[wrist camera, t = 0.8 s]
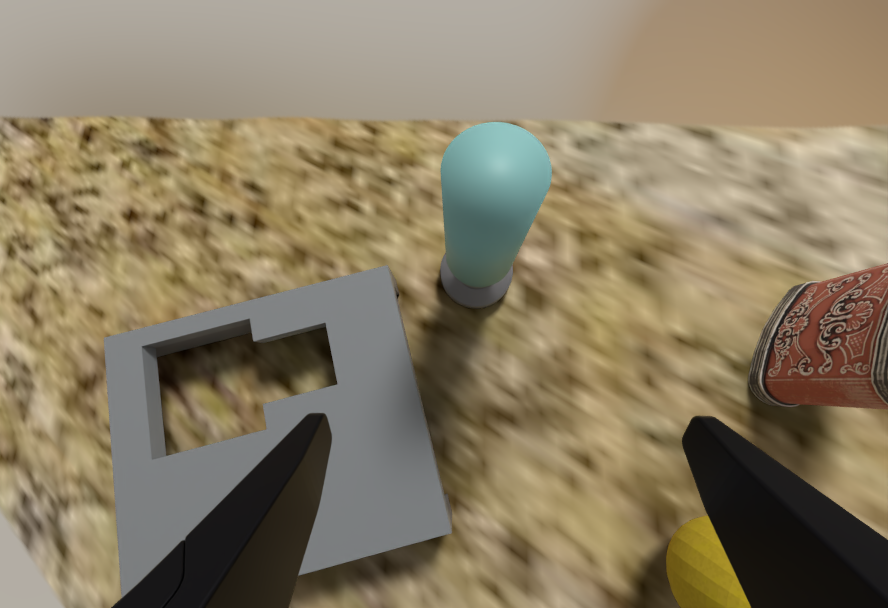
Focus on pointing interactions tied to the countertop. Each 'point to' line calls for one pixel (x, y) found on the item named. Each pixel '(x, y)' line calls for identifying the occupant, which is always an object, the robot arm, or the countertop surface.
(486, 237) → the peg
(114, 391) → the keyhole plate
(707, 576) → the lemon
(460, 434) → the countertop surface
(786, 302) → the lighter
